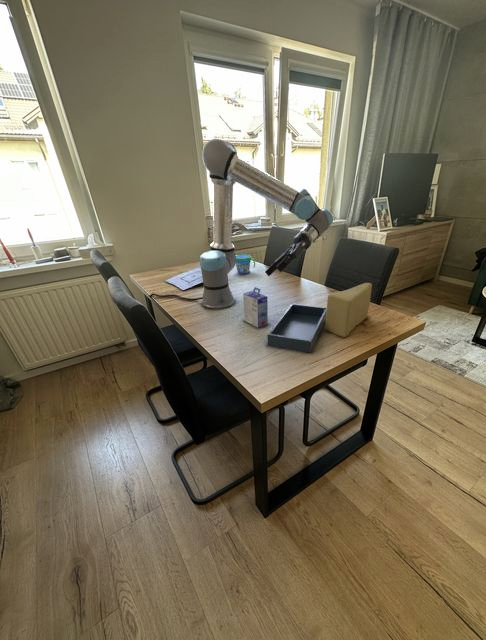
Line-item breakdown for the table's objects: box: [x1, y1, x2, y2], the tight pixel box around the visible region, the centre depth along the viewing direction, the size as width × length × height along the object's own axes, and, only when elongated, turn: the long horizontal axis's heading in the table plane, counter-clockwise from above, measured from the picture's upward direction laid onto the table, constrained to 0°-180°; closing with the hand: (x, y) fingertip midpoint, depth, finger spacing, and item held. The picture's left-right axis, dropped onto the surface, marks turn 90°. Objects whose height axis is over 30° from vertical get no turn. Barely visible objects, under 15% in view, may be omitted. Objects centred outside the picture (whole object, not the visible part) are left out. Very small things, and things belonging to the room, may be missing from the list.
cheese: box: [324, 282, 373, 338], centre depth 107 cm, size 22×10×15 cm, turn 131°
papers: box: [165, 266, 203, 291], centre depth 167 cm, size 24×30×4 cm
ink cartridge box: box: [242, 286, 269, 329], centre depth 112 cm, size 10×6×14 cm, turn 39°
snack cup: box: [235, 254, 256, 275], centre depth 175 cm, size 16×10×10 cm
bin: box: [266, 303, 327, 354], centre depth 108 cm, size 16×30×4 cm, turn 158°
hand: (272, 272), depth 118 cm, fingers open, 13 cm apart
